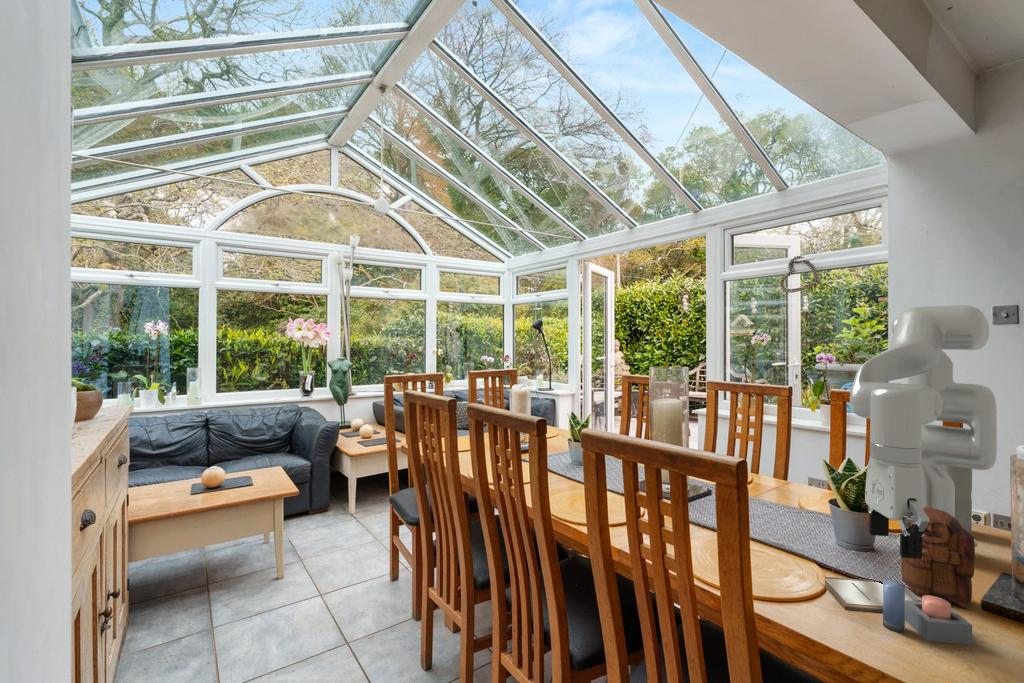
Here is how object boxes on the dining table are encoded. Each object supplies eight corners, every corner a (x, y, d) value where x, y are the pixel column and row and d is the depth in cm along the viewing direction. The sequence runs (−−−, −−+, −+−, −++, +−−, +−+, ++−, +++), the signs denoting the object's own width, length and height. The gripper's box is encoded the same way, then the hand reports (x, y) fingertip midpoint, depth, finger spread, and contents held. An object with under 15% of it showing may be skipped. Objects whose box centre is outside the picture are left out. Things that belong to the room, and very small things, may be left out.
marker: (897, 623, 92) (898, 581, 92) (908, 633, 89) (909, 590, 89) (879, 621, 93) (879, 579, 93) (889, 631, 90) (889, 588, 89)
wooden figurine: (897, 590, 104) (898, 506, 103) (901, 579, 108) (902, 499, 108) (973, 613, 95) (974, 522, 95) (975, 600, 100) (976, 513, 99)
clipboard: (897, 584, 106) (897, 579, 106) (935, 616, 94) (935, 610, 94) (817, 579, 109) (817, 573, 109) (844, 609, 97) (844, 603, 97)
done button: (940, 614, 91) (940, 596, 91) (956, 627, 87) (956, 608, 87) (916, 612, 92) (916, 594, 92) (931, 625, 88) (931, 606, 88)
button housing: (944, 621, 93) (944, 603, 92) (972, 644, 86) (972, 625, 86) (902, 617, 94) (902, 600, 94) (927, 640, 87) (927, 621, 87)
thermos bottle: (958, 526, 137) (959, 427, 137) (979, 538, 129) (980, 433, 129) (925, 524, 139) (926, 426, 138) (944, 535, 131) (945, 432, 130)
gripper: (848, 443, 99) (847, 526, 100) (901, 465, 82) (900, 565, 83) (889, 444, 98) (888, 529, 98) (951, 467, 81) (950, 569, 81)
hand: (893, 545), depth 90 cm, fingers open, 9 cm apart
